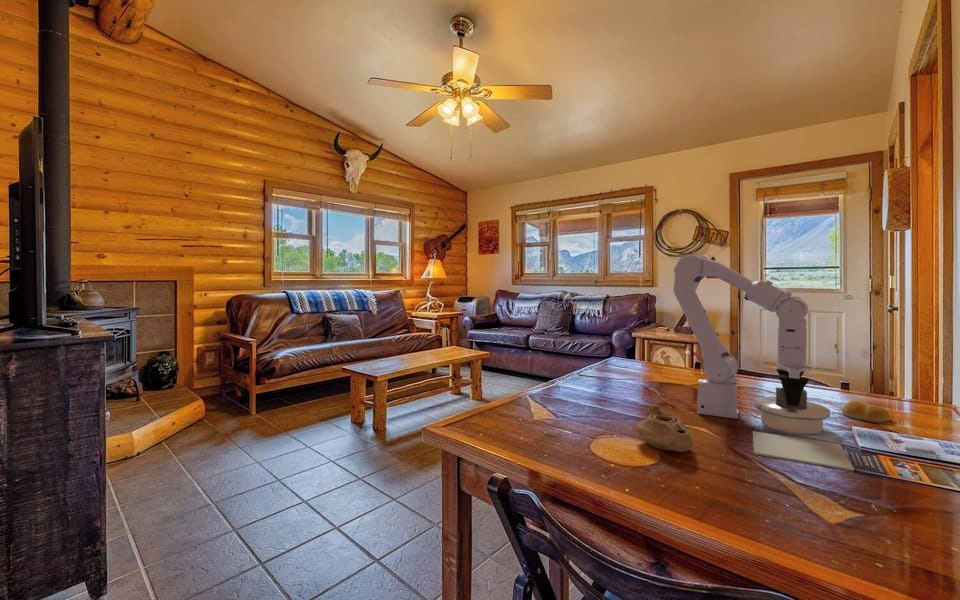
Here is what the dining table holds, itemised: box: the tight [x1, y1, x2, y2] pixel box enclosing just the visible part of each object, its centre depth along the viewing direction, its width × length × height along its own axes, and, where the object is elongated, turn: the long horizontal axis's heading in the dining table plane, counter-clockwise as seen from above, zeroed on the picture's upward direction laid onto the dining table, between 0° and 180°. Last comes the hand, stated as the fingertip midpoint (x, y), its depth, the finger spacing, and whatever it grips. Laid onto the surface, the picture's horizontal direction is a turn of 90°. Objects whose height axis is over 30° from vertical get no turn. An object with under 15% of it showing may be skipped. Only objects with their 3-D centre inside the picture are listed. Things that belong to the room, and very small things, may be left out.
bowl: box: [760, 410, 824, 436], centre depth 105 cm, size 12×12×4 cm
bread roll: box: [841, 400, 890, 423], centre depth 110 cm, size 8×9×4 cm
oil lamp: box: [635, 403, 694, 453], centre depth 93 cm, size 11×15×8 cm
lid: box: [754, 386, 831, 420], centre depth 105 cm, size 15×15×5 cm
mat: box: [752, 430, 855, 472], centre depth 91 cm, size 16×14×1 cm
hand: (791, 401), depth 105 cm, fingers open, 7 cm apart
